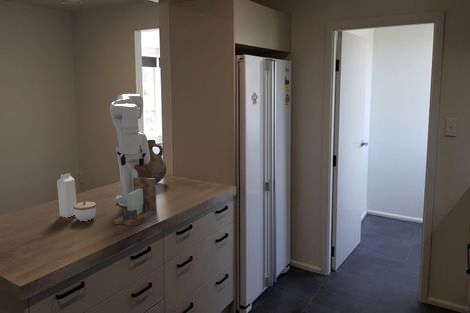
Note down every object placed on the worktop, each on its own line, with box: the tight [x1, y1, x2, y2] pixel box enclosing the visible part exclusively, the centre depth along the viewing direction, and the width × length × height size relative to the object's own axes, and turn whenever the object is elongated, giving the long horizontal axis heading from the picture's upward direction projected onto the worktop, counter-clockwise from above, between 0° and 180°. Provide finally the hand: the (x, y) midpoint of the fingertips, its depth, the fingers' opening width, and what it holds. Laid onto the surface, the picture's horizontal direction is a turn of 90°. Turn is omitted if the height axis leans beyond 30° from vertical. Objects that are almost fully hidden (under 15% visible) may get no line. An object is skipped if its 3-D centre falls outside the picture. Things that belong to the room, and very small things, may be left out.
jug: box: [133, 139, 167, 186], centre depth 271 cm, size 22×22×30 cm
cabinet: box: [113, 177, 158, 226], centre depth 202 cm, size 12×22×18 cm, turn 165°
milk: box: [56, 172, 77, 218], centre depth 205 cm, size 6×6×22 cm
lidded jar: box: [73, 200, 97, 222], centre depth 200 cm, size 11×11×9 cm
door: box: [126, 188, 144, 215], centre depth 203 cm, size 2×12×12 cm, turn 165°
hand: (132, 165), depth 200 cm, fingers open, 9 cm apart
